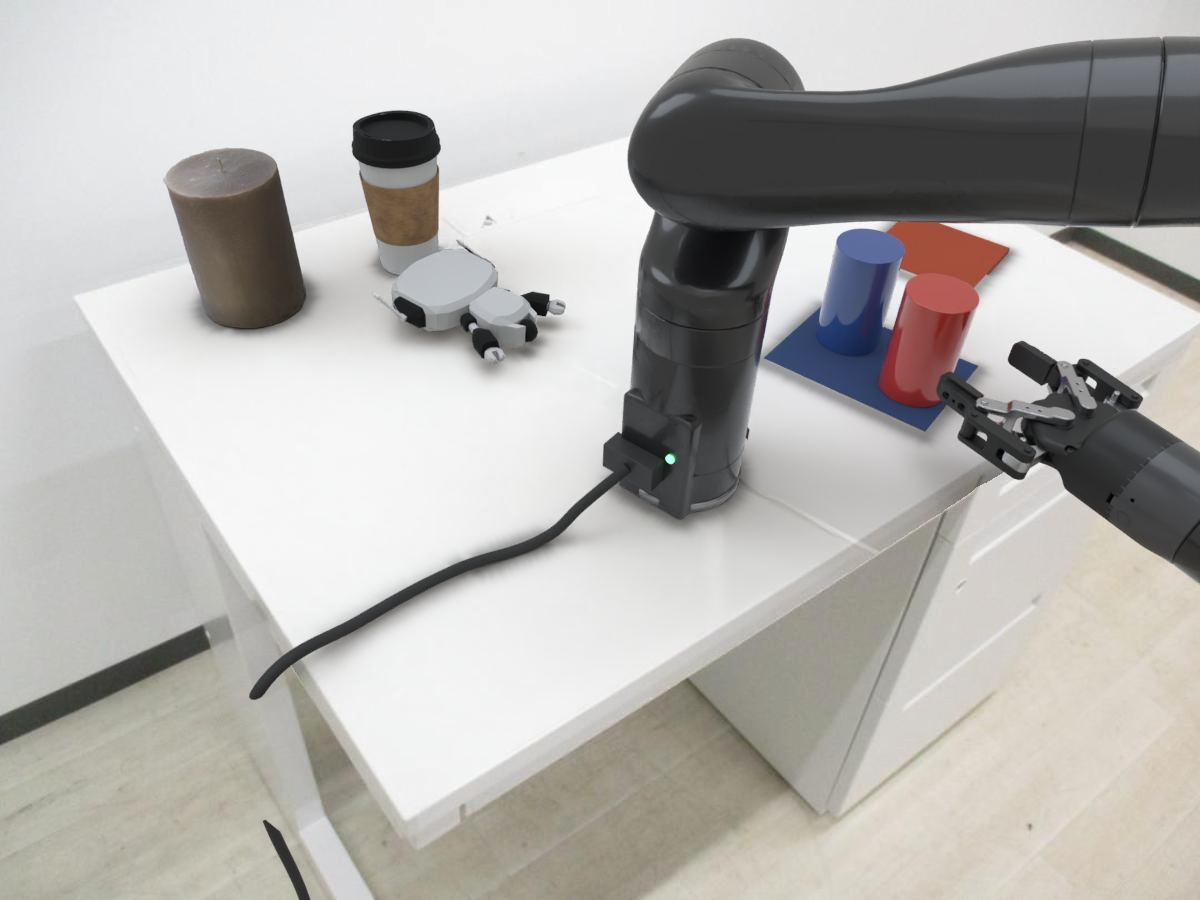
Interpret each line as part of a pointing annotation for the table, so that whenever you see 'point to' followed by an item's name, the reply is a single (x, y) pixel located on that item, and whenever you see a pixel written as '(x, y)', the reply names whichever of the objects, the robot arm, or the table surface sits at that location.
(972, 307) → the red glossy cylinder
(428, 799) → the table surface
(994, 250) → the red mat
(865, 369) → the blue mat
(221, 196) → the pillar candle
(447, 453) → the table surface
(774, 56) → the robot arm
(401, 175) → the coffee cup
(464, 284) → the robot toy
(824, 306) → the blue glossy cylinder
